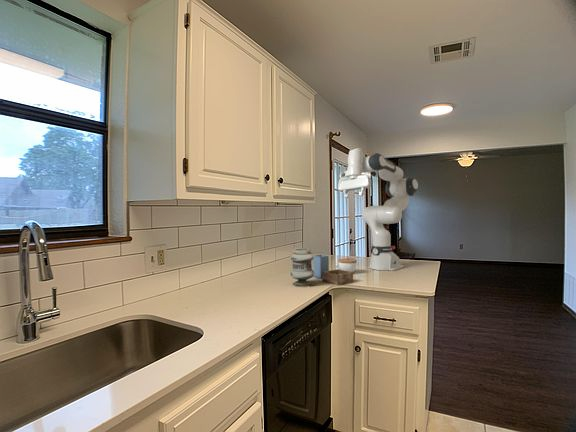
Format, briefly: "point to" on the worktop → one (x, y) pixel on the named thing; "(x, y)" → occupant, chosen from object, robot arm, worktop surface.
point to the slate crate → (320, 265)
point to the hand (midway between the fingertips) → (353, 196)
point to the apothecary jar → (302, 266)
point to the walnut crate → (338, 277)
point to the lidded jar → (347, 264)
